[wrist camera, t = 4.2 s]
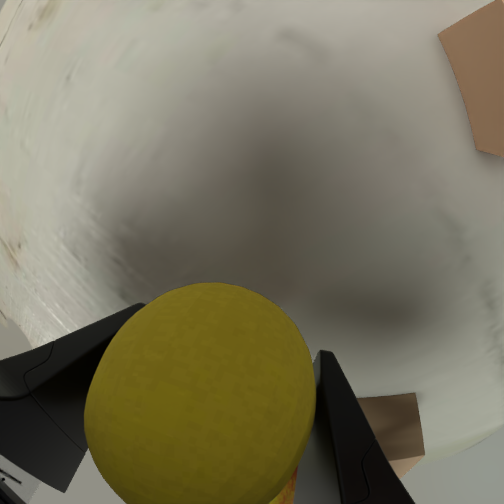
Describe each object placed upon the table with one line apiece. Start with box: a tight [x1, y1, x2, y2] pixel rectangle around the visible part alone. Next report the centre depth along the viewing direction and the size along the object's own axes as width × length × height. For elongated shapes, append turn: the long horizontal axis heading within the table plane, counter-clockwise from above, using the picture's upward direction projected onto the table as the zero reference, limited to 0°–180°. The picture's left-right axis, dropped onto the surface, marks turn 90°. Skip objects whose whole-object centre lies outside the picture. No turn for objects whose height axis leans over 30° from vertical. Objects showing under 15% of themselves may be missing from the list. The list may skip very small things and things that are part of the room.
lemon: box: [84, 282, 316, 504], centre depth 6 cm, size 6×6×8 cm
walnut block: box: [357, 393, 425, 479], centre depth 13 cm, size 5×5×5 cm
